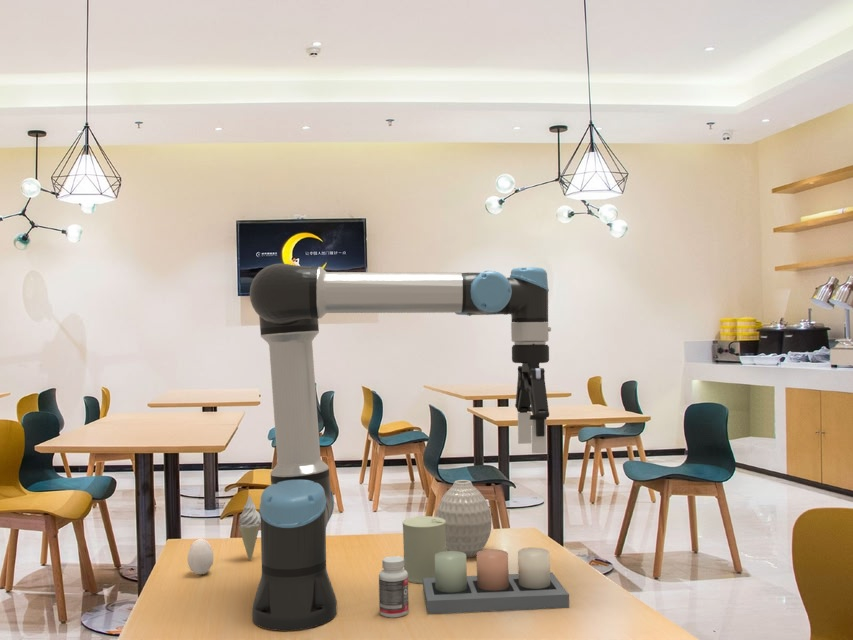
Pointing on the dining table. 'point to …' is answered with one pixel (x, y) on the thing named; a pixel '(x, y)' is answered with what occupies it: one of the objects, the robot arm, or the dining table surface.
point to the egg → (200, 556)
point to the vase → (465, 518)
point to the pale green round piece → (450, 571)
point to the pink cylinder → (492, 569)
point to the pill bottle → (393, 588)
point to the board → (494, 597)
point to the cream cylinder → (534, 568)
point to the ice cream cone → (249, 526)
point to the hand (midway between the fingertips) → (531, 448)
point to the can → (422, 546)
